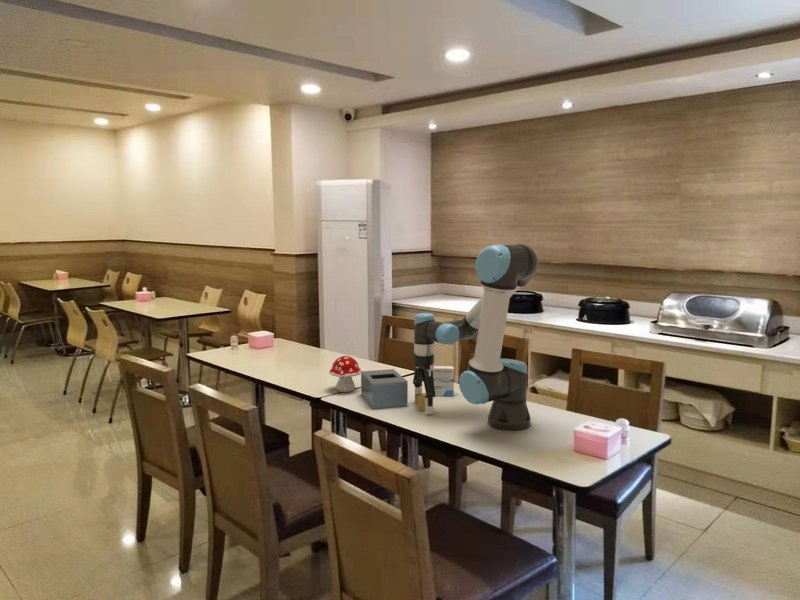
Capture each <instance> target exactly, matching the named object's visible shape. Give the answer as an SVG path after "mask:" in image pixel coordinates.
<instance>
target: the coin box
mask: <svg viewBox="0 0 800 600" xmlns="http://www.w3.org/2000/svg"><path fill="white" fill-rule="evenodd" d="M360 378H361V379H360V393H361V397H362V398H363V399H364V401H365V402H366V403H367V404H368V406H369V407H370V408H371V410H380V409H383V410H384V409H395V408H404V407H408V400H409V399H408V396H409V395H408V394H409V393H408V392H409V391H408V389H409V388H408V380H407V379H406V378H404V377H403V376H402V375H401V374H400V373H399V372H397V370H395V369H394V368H392V369H390V368H389V369H378V370H364V371H362V370H361V373H360Z"/></svg>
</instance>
